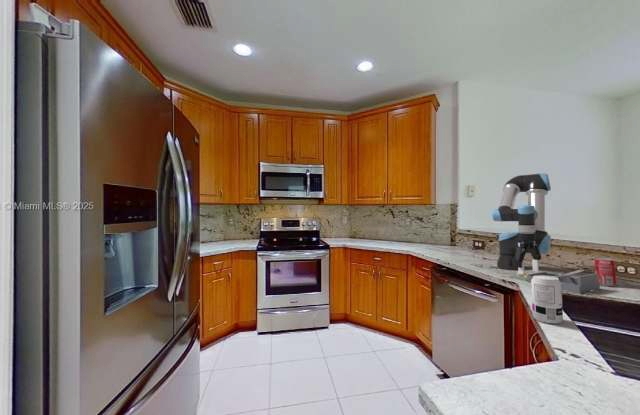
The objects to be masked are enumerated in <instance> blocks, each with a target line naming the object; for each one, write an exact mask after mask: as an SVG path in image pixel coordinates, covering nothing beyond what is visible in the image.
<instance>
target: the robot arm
mask: <svg viewBox="0 0 640 415" xmlns="http://www.w3.org/2000/svg"><path fill="white" fill-rule="evenodd" d="M549 178H550V177H549V174H547V173H546V172H545V173H544V172H543V173H539V172H538V173H533V174H532V173H531V174H521V175H516V176H514V177H512V178H510V179H509V180H508V181H507V182H506V183H505V184H504V185H503V188H502V191H503V193H502V197H501V200H500V202H499V205H498V208H496V209H495V208H494V209H493V210H492V213H491V217H492V220H493V221H494V222H517V223H518V224H517V225H518V231H515V232H504V233H500V234H499V235H498V250H499V252H498V253H499V256H498V259H497V262H496V267H497V268H498V267H499V269H502V270H509V271H510V270H511V271H512V270H513V271H517V272H518V273H520V274H524V272H525V269H526V266H525V261H524V259H525V257H526V254H531V257H532V262H531V263H532V272H535V273H540V270H539V267H540V266H539V261H541V258H542V255H546V254H548V253H549V252H550V249H551V244H552V243H551V241H552V236H551V235H550V234H549V233H548V231H546V230H545V229H546V228H545V227H546V225H545V219H546V218H545V216H546V215H545V214H546V210H545V209H546V207H545V206H546V203H545V202H546V200H545V199H546V195H548V193H549V191H551V184H550V179H549ZM520 193H525V195H526V196H527V198H528V200H527V202H528V203H527V204H526V205H523V204H522V205H518V207H517V208H514V207H515V206H514V205H515V203H516V199H517V195H519V194H520Z"/></svg>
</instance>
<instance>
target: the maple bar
mask: <svg viewBox="0 0 640 415" xmlns="http://www.w3.org/2000/svg"><path fill="white" fill-rule="evenodd" d="M533 273H534V272H529V271H524V274H520V273H518V271H516V275H517V276H519V277H523V278H527V275H528V274H533Z"/></svg>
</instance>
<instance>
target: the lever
mask: <svg viewBox="0 0 640 415" xmlns="http://www.w3.org/2000/svg"><path fill="white" fill-rule="evenodd" d="M583 272H585V270H584V268H581V269H577V270H574V271H570V272H567V273H565V272H563V271H562V272H558V274H557V275H558V276H552V277H556V278H558V279H559V278H564V277H572V275H577V274H578V273H583Z"/></svg>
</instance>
